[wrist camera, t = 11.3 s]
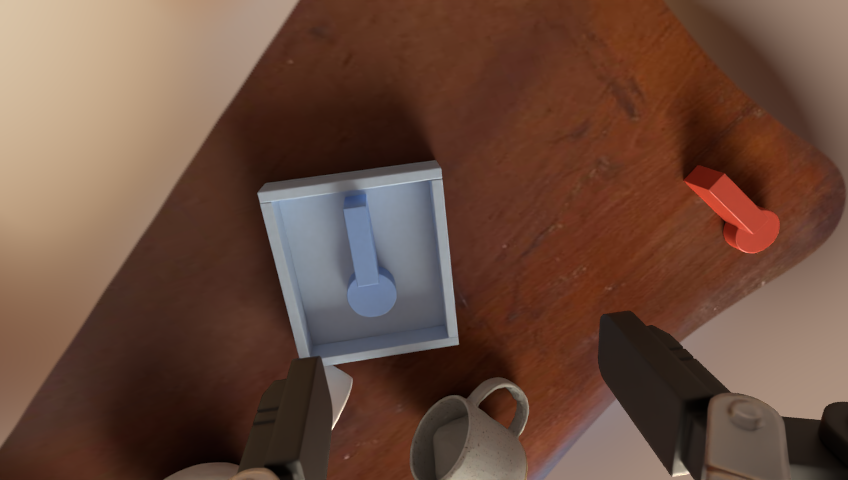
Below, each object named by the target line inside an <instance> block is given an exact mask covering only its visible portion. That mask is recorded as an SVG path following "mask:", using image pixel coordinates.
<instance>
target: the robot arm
mask: <svg viewBox="0 0 848 480" xmlns="http://www.w3.org/2000/svg"><path fill="white" fill-rule="evenodd" d="M598 363H599V369H600V372H601V375H602V377H603V379H604V381H605V382H606V384H607V385H608V387H609V388H610V390H611V391H612V392H613V394H614V395H615V397H616V398H617V400H618V401H619V402H620V404H621V405H622V407H623V408H624V410H625V411H626V412H627V414H628V415H629V417H630V418H631V420H632V421H633V422H634V424H635V425H636V427H637V428H638V430H639V431H640V432H641V434H642V435H643V437H644V438H645V439H646V441H647V442H648V443H649V445H650V447H651V448H652V449H653V451H654V452H655V454H656V455H657V457H658V458H659V459H660V461H661V462H662V463H663V465H664V467H665V468H666V469H667V471H668V472H669V474H670V475H671V476H672V477H673V476H679V475H685V474H691V476H692V477H693V479H694V480H848V402H836V403H832V404H829V405H828V406H826V407H825V409H824V412H823V415H822V419H821V420H814V419H802V418H791V417H782V416H780V415H779V414H778V412H777V411H776V410H775V409H773V408H772V407H771V406H769V405H768V404H766V403H764V402H763V401H761V400H759V399H756V398H754V397H751V396H747V395H744V394H739V393H731V392H730V391H729V390H728V389H727V388H726V387H725V386H724V385H723V384H722V383H721V382H720V381H719V380H717V379H716V378H715V377H714V376H713V375H712V374H711V373H710V372H709V371H708V370H707V369H706V368H705V367H704V366H703V365H702V364H701V363H700V362H699V361H697V360H696V359H694V358H693V356H692V355H691V354H690V353H689V352H688V351H687V350H686V349H683V346H682V345H681V344H680V343H679V342H678V341H676V340H675V339H674V338H673V337H672V336H671V335H670V334H668V333H666V332H664V331H663V330H661V329H659V328H657V327H655V326H653V325H650V326H646V325H645V324H644V323H643V322H642V321H641V320H640V319H639V318H638V317H637V316H636V315H635V314H634V313H633V312H631V311H622V312H616V313H609V314H603V315H602V316H601V319H600V330H599V350H598ZM257 411H258V413H256V416H255V419H254V422H253V426H252V428H251V431H250V434H249V437H248V441H247V444H246V447H245V450H244V453H243V456H242V459H241V462H240V465H239V468H238V471H237V474H236V475H234V476H232V477H231V478H229V479H228V480H326V476H327V467H328V458H329V450H330V441H331V432H332V423H333V409H332V401H331V396H330V392H329V387H328V383H327V379H326V375H325V370H324V366H323V362H322V359H321V357H320V356H312V357H305V358H299V359H293V360H292V362H291V365H290V369H289V372H288V376H287V379H283V380H277V381H274V382H273V383H272V384H271V385H270V387H269V388H268V389H267V390H266V391H265V393H264V394H263V395H262V398H261V401H260V404H259V407H258V410H257Z"/></svg>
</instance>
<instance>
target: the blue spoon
mask: <svg viewBox="0 0 848 480" xmlns="http://www.w3.org/2000/svg"><path fill="white" fill-rule="evenodd" d="M343 213H344V219H345V224H346V229H347V234H348V240H349V245H350V250H351V256H352V261H353V266H354V271H355V272H354V273H353V274H352V275H351V277H350V279H349V282H348V288H347V300H348V303H349V305H350V307H351V308H352V309H353V310H354V311H355V312H356V313H358V314H360V315H362V316H366V317H377V316H380V315H383V314H385V313H386V312H388V311H389V310H390V309H391V308H392V307H393V305H394V304H395V301H396V297H397V292H396V283H395V280H394V277H393V276H392V274H391V273H390V272H389V271H388V270H386V269H385V268H383V267H380V266H378V260H377V254H376V248H375V242H374V236H373V230H372V224H371V218H370V212H369V206H368V200H367V195H366V194H363V195H356V196H349V197H345V200H344V206H343Z"/></svg>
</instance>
